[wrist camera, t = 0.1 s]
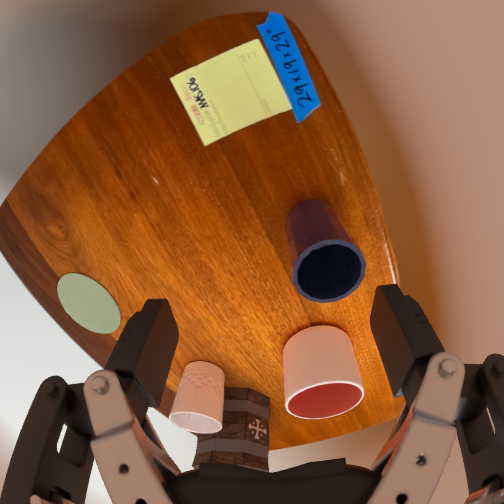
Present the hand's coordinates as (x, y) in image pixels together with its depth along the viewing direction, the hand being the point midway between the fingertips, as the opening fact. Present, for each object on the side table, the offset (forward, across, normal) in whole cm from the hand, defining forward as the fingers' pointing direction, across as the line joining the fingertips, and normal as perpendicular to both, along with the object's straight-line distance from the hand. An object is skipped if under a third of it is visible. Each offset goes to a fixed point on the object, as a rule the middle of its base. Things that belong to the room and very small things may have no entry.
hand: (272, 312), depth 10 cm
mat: (+19, +28, +16) cm, 38 cm away
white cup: (+19, +12, +31) cm, 38 cm away
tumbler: (+19, -4, +6) cm, 20 cm away
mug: (+19, +8, +45) cm, 49 cm away
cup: (+19, -6, +25) cm, 32 cm away
